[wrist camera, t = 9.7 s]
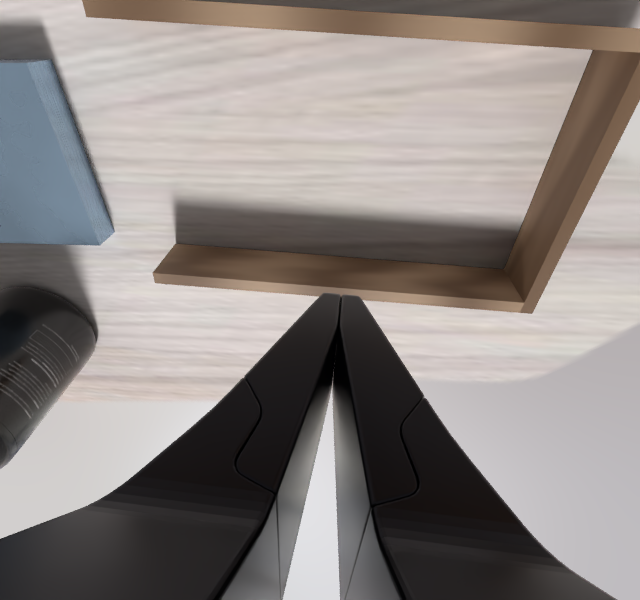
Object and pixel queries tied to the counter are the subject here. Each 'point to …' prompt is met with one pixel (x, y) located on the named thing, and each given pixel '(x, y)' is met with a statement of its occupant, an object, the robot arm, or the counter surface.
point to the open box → (410, 277)
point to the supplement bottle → (36, 359)
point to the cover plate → (44, 163)
